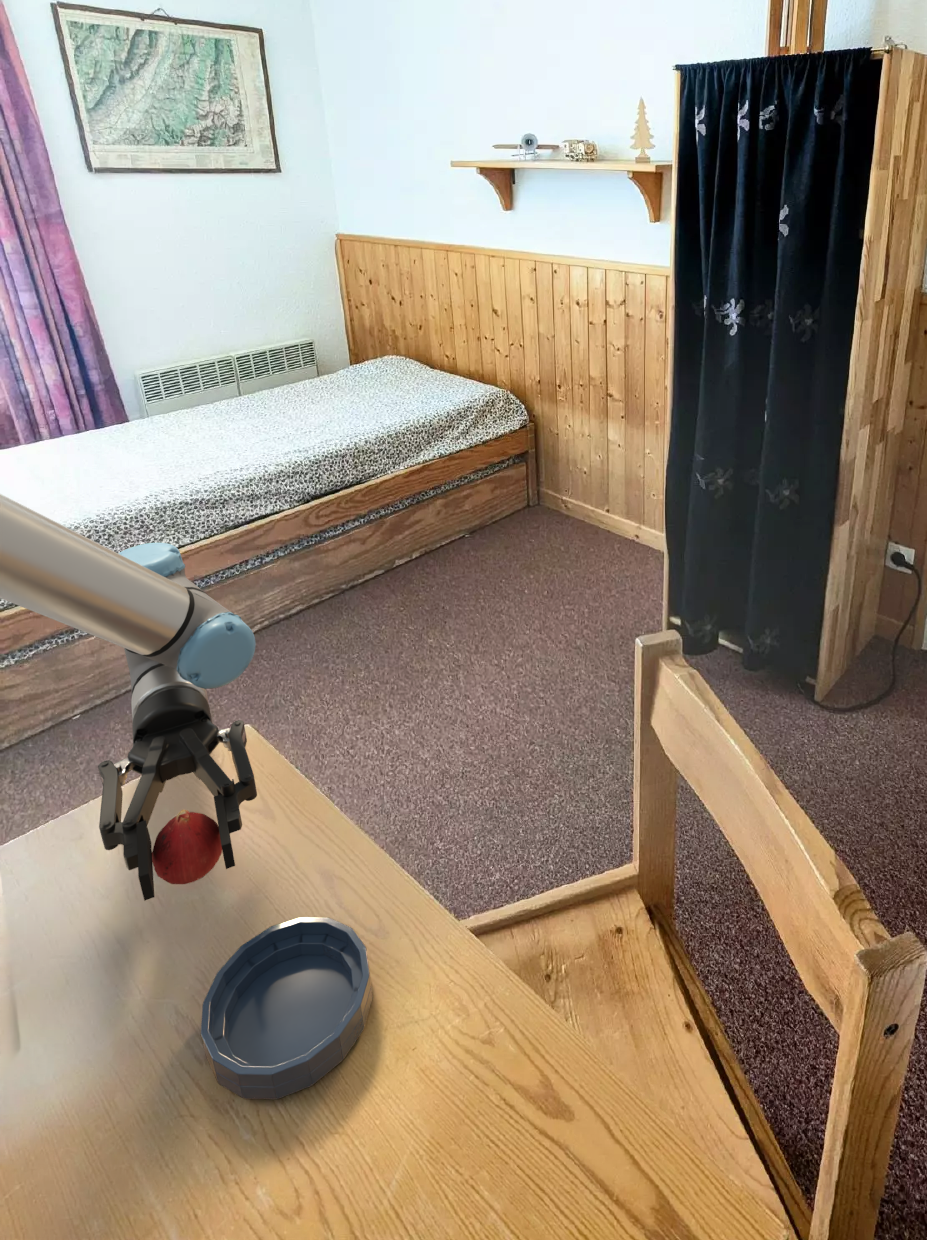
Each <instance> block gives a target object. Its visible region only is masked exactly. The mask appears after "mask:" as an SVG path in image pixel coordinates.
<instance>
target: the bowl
mask: <svg viewBox="0 0 927 1240" xmlns="http://www.w3.org/2000/svg"><path fill="white" fill-rule="evenodd" d="M368 958H369V957H368V950H367V946H366V945H365V944H364V942H363V941H362V940H361V938H360V936H358V934H357V933H356V931H355V930H354V929H353V928H352V927H351V926H349V925H347V924H344V923H342V922H340V921H338V920H335V919H333V918H331V917H327V916H325V917H323V916H315V917H314V916H299V917H296V918H293V919H290V920H287V921H284V922H280V923H277V924H274V925H271V926H269V927H267V928H266V929H265V930H263V931H262V932H259V933H258V934H257V935H255V936H254V937H251V939H249V940H248V941H246V942H245V943H243V944H241V946H239V948H238V949H237V950H236V951H235V952H234V953H233V954H232V955H231V956H230V958H228V959H227V961H226V962H225V963H224V964H223V965H222V967H220V968H219V970H218V971H217V972H216V974H215V977H214V978H213V981H212V982H211V985H210V986H209V989H208V991H207V993H206V995H205V998H204V1000H203V1002H202V1009H201V1021H200V1022H201V1023H200V1037H201V1042H202V1045H203V1049H204V1053H205V1058H206V1060H207V1062H208V1065H209V1067H210V1068H211V1071H212V1074H213V1075H214V1077H215V1079H216V1082H217V1084H218V1085H220V1086H221V1087H223V1088H225V1089H227V1090H228V1091H230V1092H232V1093H233V1094H235V1095H237V1096H238V1097H240V1098H242V1099H244V1100H279V1099H281V1098H284V1097H287V1096H289V1095H292V1094H294V1093H297V1092H299V1091H302V1090H305V1089H307V1088H310V1087H312V1086H314V1085H315V1084H316V1083H317V1082H319V1081H320V1080H321V1079H322V1078H323V1077H325V1076H326V1075H327V1074H328V1073H330V1071H332V1070H333V1069H335V1067H337V1066H338V1065H339V1064H341V1063H342V1062H343V1061H344V1060H345V1058H346V1057H347V1055H348V1054H349V1052H350V1051H351V1049H352V1048H353V1046H354V1045H355V1043H356V1042H357V1040H358V1039H359V1037H360V1036H361V1034H362V1033H363V1031H364V1030H365V1028H366V1023H367V1020H368V1016H369V1012H370V1009H371V1006H372V1002H373V998H374V997H373V988H372V980H371V972H370V965H369V959H368Z"/></svg>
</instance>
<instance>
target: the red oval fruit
mask: <svg viewBox="0 0 927 1240" xmlns="http://www.w3.org/2000/svg"><path fill="white" fill-rule="evenodd" d="M222 854H223V851H222V846H221V840H220V834H219V827H218V822H216V820H214V819H213V817H210V816H208V815H206V814H204V813H201V812H196V811H195V812H194V811H189V810H188V809H181V810H180V811H179V812H178V813H177V814H176V816H174V817H173V818H171V819H169V820H168V822H167V823H165V825H164V826H163V827H162V828H161V829H160V831H159V832H158V833H157V835H156V837H155V840H154V844H153V847H152V864H153V870H154V872H155V873H156V876H157V877H159V878H160V879H161V880H163V881H165V882H166V883H168V884H171V885H188V884H191V883H195V882H197V881H199V880H201V879H202V878H204V877H205V876H207V874H208V873H210V871H212V870H213V869H214V867H215V866H216V865H217V864H218V862H219V860H220V858H221V856H222Z"/></svg>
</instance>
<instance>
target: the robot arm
mask: <svg viewBox="0 0 927 1240" xmlns="http://www.w3.org/2000/svg"><path fill="white" fill-rule="evenodd" d="M180 551H181V550H179V549H178V547H177V546H175V545H173V544H171V543H167V542H148V543H142V544H138V545H135V546H132V547H128V548H126V549H124V550H122V551H120V552H119V553H118V552H116V551H114V550H112V549H110V548H108V547H106V546H104V545H102V544H100V543H98V542H96V541H95V540H92V539H90V538H88V537H87V536H84V535H83V534H81V533H78V532H76V531H75V530H72V529H70V528H69V527H67V526H65V525H63V524H61V523H59V522H57V521H55V520H53V519H51V518H49V517H47V516H45V515H43V514H41V513H39V512H37V511H35V510H34V509H31V508H29V507H27V506H26V505H24V504H21V503H19V502H18V501H15V500H13V499H11V498H9V497H8V496H6V495H3V494H2V493H0V599H2V600H4V601H7V602H9V603H12V604H13V605H16V606H18V607H21V608H24V609H26V610H29V611H31V612H33V613H36V614H38V615H41V616H43V617H46V618H49V619H50V620H53V621H55V622H58V623H61V624H63V625H66V626H69V627H71V628H73V629H76V630H77V631H80V632H84V633H85V634H89V635H91V636H93V637H96V638H98V639H101V640H103V641H106V642H109V643H111V644H112V645H113V644H114V645H116V646H118V647H121V648H123V650H124V654H125V658H126V662H127V667H128V671H129V678H130V687H131V701H130V703H131V704H130V705H131V721H132V725H131V726H132V727H131V728H132V747H131V749H130V750H129V751H128V753H127V757H126V758H124V759H121V760H119V761H117V762H115V763H113V760H110V759H109V760H104V761H101V762H100V763H99V764H98V766H97V768H98V772H99V776H100V780H101V784H102V793H101V801H100V802H101V803H100V813H99V822H98V829H99V833H100V837H101V841H102V844H103V847H104V850H106V851H112V850H114V849H116V848H117V847H118V846H120V845H121V846H122V847H123V848H122V849H123V850H122V851H123V855H122V856H123V859H124V863H125V867H126V869H127V870H128V871H132V870H134V869H137V873H138V874H137V875H138V877H137V878H138V881H139V886H140V890H141V893H142V897H143V901H144V902H147V901H149V900H151V899H154V898H155V884H154V883H155V881H154V866H153V862H152V851H153V847H152V840H151V836H150V831H149V828H148V825H149V823H150V819H151V817H152V814H153V811H154V809H155V805H156V803H157V801H158V798H159V795H160V793H162V792H163V791H164V788H165V785H166V783H167V781H170V780H173V779H175V778H176V777H178V776H182V775H188V774H191V773H193V774H194V776H195V777H196V778H197V779H198V780H200V781H201V782H202V783H203V784H204V785H205V787H206V788H207V790H209V792H210V793H211V794H212V796H213V802H214V809H215V815H216V820H217V825H218V827H219V834H220V840H221V846H222V855H223V856H222V857H223V861H224V866H225V870H228V869H230V868H233V867H236V861H235V856H234V850H233V846H232V845H233V844H232V839H231V834H232V833H235V832H238V831H240V830H242V827H243V821H242V815H241V811H240V806H241V804H242V803H243V802H245V801H246V802H251V801H253V800H255V799H256V798H257V797H258V791H257V786H256V780H255V774H254V770H253V767H252V765H251V761H250V758H249V755H248V752H247V748H246V746H247V742H248V738H247V733H246V727H245V722H244V721H243V720H242V719H238V720H235V721H234V722H232V723H231V726H230V727H228V728H221V729H220V728H219V727H218V725H216V724H214V723H213V719H212V714H211V708H210V703H209V698H208V691H207V690H210V689H211V690H212V689H218V688H221V687H224V686H225V687H226V686H227V685H229V684H231V683H232V682H234V681H236V680H237V679H238V678H239V677H240V676H241V675H242V674H243V673H244V672H245V671H246V669H247V668H248V667H249V665H250V663H252V660H253V658H254V656H255V652H256V646H257V645H256V637H255V634H254V632H253V630H252V629H251V627H250V626H249V625H248V624H247V623H246V622H245V621H243V619H242V617H241V616H240V615H238V614H235V613H234V612H232V611H231V610H229V608H227V607H225V606H223V605H222V604H221V603H220V602H218V601H216V600H215V599H214V598H212V597H211V596H210V595H209V594H208V593H206V591H204V590H203V589H201V588H200V587H199V586H198V585H196V583H194V582H193V581H191V580H190V579H188V577H187V576H186V564H185V563H184V561H183V558H182V554H181V552H180ZM220 743H221V744H223V747H224V748H226V749H227V752H231V753H230V754H231V757H232V761H233V766H234V769H235V772H236V776H237V779H238V781H237V782H236V783H235V779H234V778H231V779H230V778H229V776H228V775H227V774H226V772H224V770H223V769H222V768H221V767H220V766H219V764H218V763H217V761H215V759H214V758H213V757H212V756H211V754H212V753H213V752H214V751H215V750H216V748H217V746H218V745H219V744H220ZM131 771H132V772H134V773H137V774H138V775H141V776H140V778H139V781H138V784H137V786H136V788H135V791H134V793H133V796H132V798H131V801H130V802H129V806H128V808H127V811H126V812H125V815H124V818H123V821H122V813H123V795H124V794H123V793H124V792H123V789H122V787H123V786H125V785H126V780H127V779H128V774H129V772H131Z"/></svg>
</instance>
